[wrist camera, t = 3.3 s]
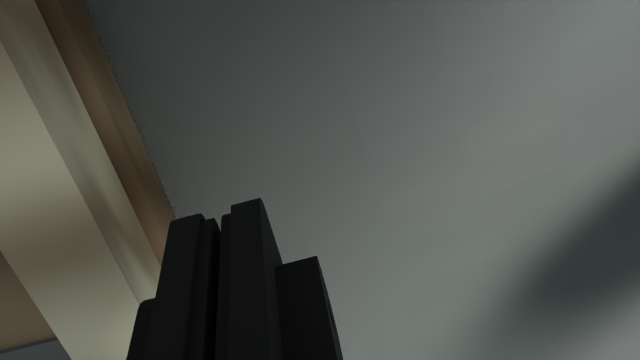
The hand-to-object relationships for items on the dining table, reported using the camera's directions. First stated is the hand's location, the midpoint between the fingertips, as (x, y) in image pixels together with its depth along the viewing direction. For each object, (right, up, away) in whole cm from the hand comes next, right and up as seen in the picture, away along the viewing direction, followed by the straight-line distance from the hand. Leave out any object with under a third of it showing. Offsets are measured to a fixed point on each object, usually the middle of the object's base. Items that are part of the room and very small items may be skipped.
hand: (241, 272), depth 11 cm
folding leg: (-7, 0, +10) cm, 12 cm away
